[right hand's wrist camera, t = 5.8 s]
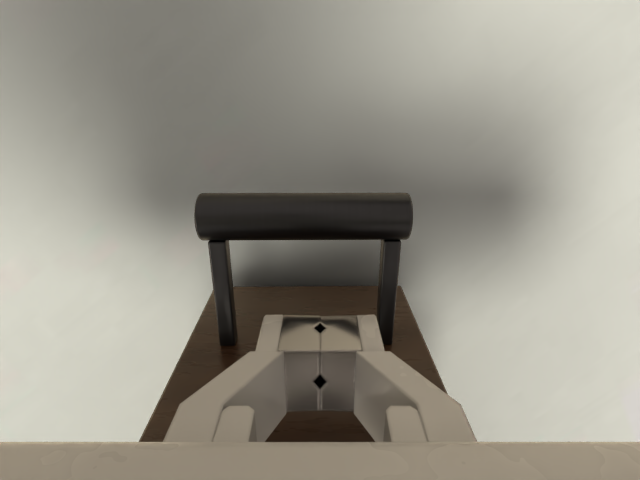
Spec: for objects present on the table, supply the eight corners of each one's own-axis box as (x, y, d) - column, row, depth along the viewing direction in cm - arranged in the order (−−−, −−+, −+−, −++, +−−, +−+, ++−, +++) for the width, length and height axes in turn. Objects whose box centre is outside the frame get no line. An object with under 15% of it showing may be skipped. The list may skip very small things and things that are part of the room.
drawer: (200, 167, 17) (72, 260, 8) (411, 167, 17) (521, 258, 8) (241, 521, 26) (202, 754, 17) (379, 519, 26) (414, 749, 17)
